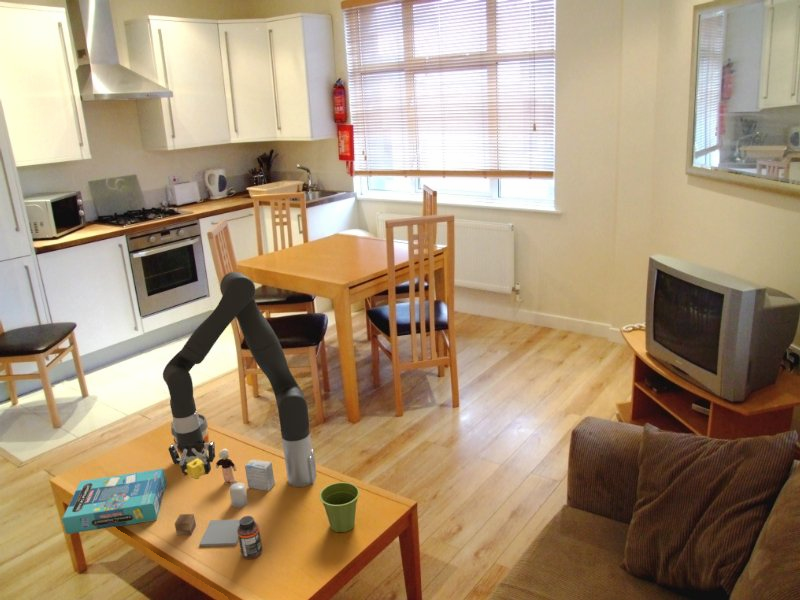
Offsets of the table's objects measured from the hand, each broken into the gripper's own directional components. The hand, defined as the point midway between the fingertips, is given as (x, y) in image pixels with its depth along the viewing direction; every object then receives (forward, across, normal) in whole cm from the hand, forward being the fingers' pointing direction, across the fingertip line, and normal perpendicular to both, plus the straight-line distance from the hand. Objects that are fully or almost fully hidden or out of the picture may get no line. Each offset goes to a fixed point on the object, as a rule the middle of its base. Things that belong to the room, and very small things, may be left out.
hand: (197, 473), depth 208 cm
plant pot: (+14, -46, +10) cm, 49 cm away
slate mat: (+14, -10, +12) cm, 21 cm away
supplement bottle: (+14, -20, +21) cm, 33 cm away
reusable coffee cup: (+14, +13, -31) cm, 36 cm away
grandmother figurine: (+14, -4, -15) cm, 21 cm away
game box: (+10, +16, -5) cm, 19 cm away
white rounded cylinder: (+14, -11, -3) cm, 18 cm away
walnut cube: (+14, +2, +10) cm, 17 cm away
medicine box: (+14, -16, -12) cm, 24 cm away
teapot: (+1, 0, 0) cm, 1 cm away
